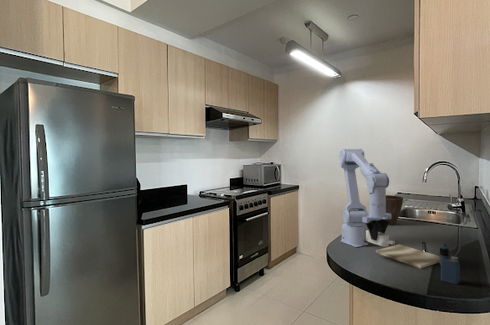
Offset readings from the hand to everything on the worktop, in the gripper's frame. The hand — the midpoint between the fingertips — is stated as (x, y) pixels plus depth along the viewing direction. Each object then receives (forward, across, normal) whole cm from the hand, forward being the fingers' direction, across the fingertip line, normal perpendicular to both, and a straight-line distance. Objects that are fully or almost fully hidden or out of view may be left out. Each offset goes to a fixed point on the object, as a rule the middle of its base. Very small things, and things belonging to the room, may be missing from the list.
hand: (377, 238), depth 105 cm
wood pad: (+8, +14, -4) cm, 17 cm away
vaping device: (+8, +4, -23) cm, 25 cm away
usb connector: (+2, 0, -1) cm, 2 cm away
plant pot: (+8, +55, +33) cm, 65 cm away
